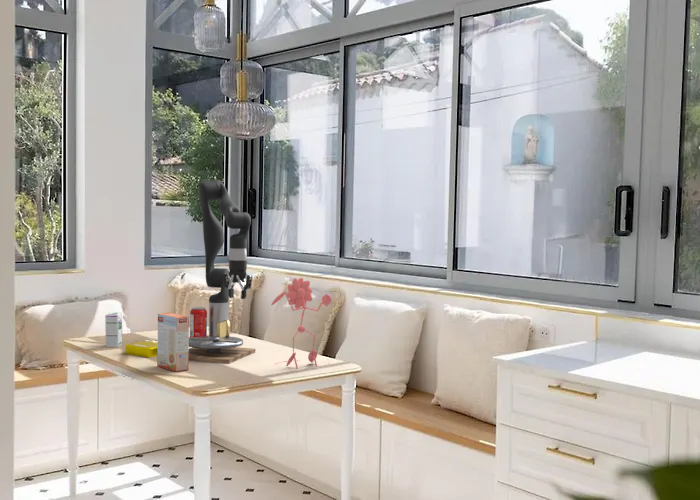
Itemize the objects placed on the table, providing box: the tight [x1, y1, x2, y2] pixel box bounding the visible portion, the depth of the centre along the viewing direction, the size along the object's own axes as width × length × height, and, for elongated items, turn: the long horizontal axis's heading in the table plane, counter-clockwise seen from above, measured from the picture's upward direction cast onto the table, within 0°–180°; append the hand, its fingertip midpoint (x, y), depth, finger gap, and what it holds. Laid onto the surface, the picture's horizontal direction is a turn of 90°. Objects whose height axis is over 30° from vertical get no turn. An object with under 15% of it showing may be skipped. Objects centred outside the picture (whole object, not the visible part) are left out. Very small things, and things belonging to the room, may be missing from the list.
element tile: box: [125, 339, 158, 358], centre depth 326 cm, size 15×15×5 cm
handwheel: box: [189, 319, 244, 349], centre depth 324 cm, size 24×24×8 cm
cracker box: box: [156, 312, 190, 373], centre depth 297 cm, size 14×6×21 cm, turn 43°
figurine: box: [270, 277, 332, 369], centre depth 309 cm, size 15×26×35 cm, turn 127°
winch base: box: [188, 346, 256, 364], centre depth 324 cm, size 27×26×5 cm
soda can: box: [189, 306, 208, 339], centre depth 360 cm, size 8×8×15 cm
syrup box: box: [104, 312, 123, 348], centre depth 340 cm, size 6×6×14 cm
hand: (237, 298), depth 330 cm, fingers open, 5 cm apart
